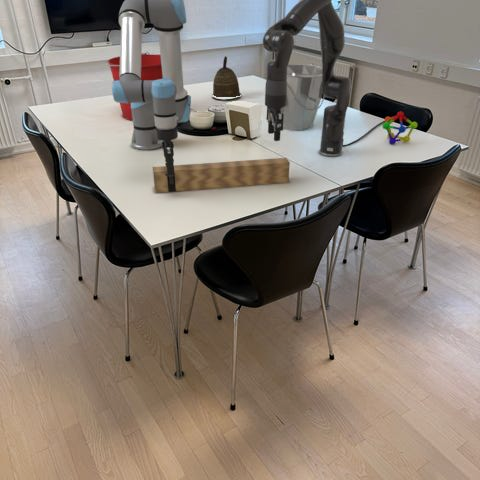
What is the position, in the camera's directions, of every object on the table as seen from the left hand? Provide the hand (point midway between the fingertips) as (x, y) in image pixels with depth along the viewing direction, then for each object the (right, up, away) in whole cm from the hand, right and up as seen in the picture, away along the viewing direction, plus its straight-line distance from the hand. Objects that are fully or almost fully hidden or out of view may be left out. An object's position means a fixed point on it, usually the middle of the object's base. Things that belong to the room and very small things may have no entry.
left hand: (171, 184), depth 166 cm
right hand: (+38, +18, -2) cm, 42 cm away
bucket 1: (-27, +50, +83) cm, 100 cm away
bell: (+17, +70, +116) cm, 136 cm away
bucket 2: (+55, +40, +68) cm, 96 cm away
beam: (+19, +1, +4) cm, 20 cm away
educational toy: (+100, +25, +45) cm, 113 cm away
